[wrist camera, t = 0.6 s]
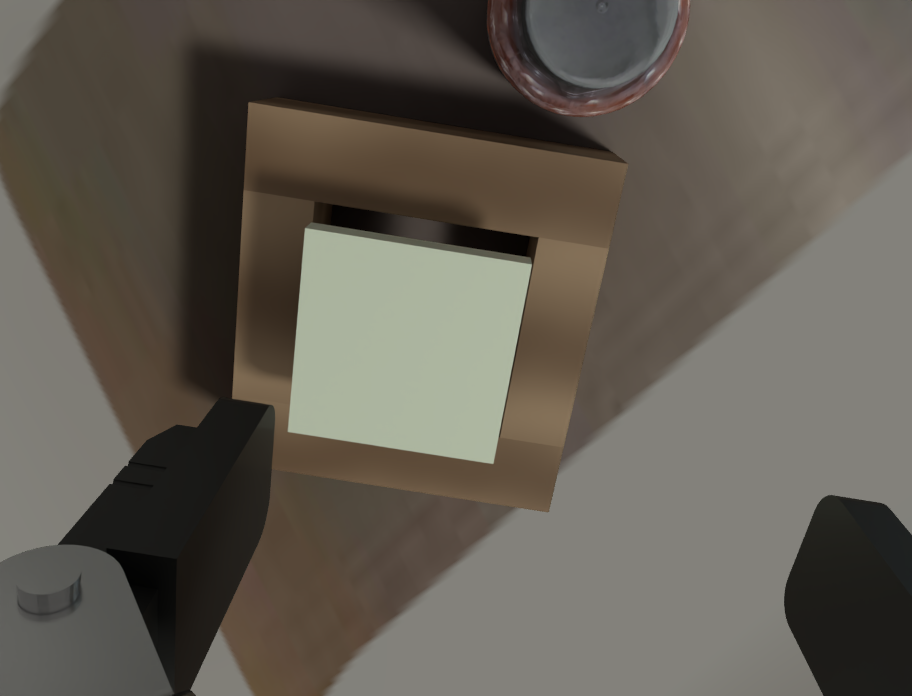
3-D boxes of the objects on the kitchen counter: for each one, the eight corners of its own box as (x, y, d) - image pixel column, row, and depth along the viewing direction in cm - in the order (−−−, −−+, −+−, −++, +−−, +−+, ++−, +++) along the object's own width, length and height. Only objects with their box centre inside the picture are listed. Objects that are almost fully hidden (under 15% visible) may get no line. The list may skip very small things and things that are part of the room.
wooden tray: (276, 97, 32) (248, 102, 28) (612, 151, 32) (628, 163, 28) (255, 421, 37) (228, 462, 33) (542, 466, 37) (548, 512, 33)
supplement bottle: (455, 13, 30) (436, -12, 20) (577, -99, 29) (627, -190, 18) (548, 133, 32) (577, 170, 21) (669, 33, 30) (765, 19, 20)
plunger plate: (311, 222, 27) (305, 228, 27) (530, 257, 28) (531, 264, 27) (293, 420, 30) (287, 431, 29) (493, 451, 30) (493, 464, 29)
